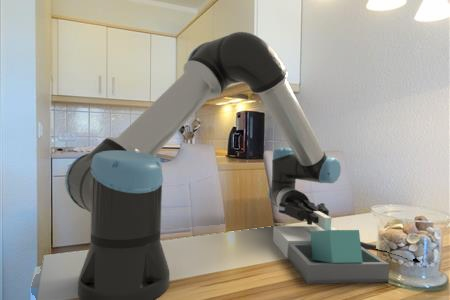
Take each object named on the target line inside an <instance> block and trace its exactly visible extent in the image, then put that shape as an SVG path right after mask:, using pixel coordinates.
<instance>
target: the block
mask: <svg viewBox="0 0 450 300" xmlns="http://www.w3.org/2000/svg"><path fill="white" fill-rule="evenodd" d="M310 232H311V246H312V259H313V260H318V261H324V262H330V263H359V262H363V261H362V252H361V243H360V242H361V236H360V230H359V229H337V230H324V231H310Z"/></svg>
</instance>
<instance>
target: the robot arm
mask: <svg viewBox="0 0 450 300" xmlns="http://www.w3.org/2000/svg"><path fill="white" fill-rule="evenodd" d="M287 77H288V70H287V68H286V67H285V64H284V62H283V61H282V60H281V58H280V57H279V54H277V52H276V51H275V50H274V49H273V48H272V47H271V46H270V45H269V44H268V43H267V42H265V40H263V39H262V38H260V37H258V36H257V35H255V34H252V33H251V32H246V31H237V32H233V33H230V34H229V35H225V36H222V37H219V38H217V39H214V40H211V41H207V42H204V43H202V44H200V45H198V46H197V47H195V48H194V49H193V50H192V51H191V52H190V54H189V56H188V59H187V61H186V63H184V64H183V74H182V75H181V76H179V78H177V80H176V81H175V82H174V83H173V84H171V85H170V86H169V87H168V88H167V89H166V90H165V91H164V92H163V93H162V94H161V95H160V96H159V97H158V98H157V99H156V100H155V101H153V103H152V104H151V105H150V106H149V107H147V109H145V110H144V111H143V113H141V114H140V115H139V116H138V117H137V118H135V120H134V121H133V122H131V124H130V125H129V126H128V127H127V128H126V129H124V131H123V132H121V134H119V136H117V137H106V138H105V139H104V140H103V141H101V142H100V143H98V145H97V146H96V147H95V148H94V149H93V150H92V151H91V152H89V153H84V154H83V155H81V156H78V158H76V159H75V160H74V161H72V163H71V164H70V165H69V167H68V168H67V170H66V173H65V178H64V185H65V189H66V192H67V195H68V196H69V197H70V199H71V201H72V202H73V203H74V204H75V205H77V206H78V207H79V208H81V209H83V210H86V211H88V212H90V244H89V248H88V251H87V253H86V257H85V260H84V263H83V265H82V268H81V271H80V274H79V277H78V281H77V282H78V283H77V294H78V297H79V299H81V300H156V299H157V298H159V297H161V296H162V295H163V294H164V293H165V292H166V291H167V290H168V289H169V286H170V268H169V264H168V261H167V258H166V256H165V255H166V254H165V252H164V248H163V246H162V242H161V228H162V227H161V226H162V225H161V224H162V198H163V197H162V196H163V195H162V194H163V192H162V191H163V183H164V182H163V181H164V177H163V166H162V162H161V160H160V158H158V157H157V156H156V155H157V154H158V153H159V152H160V151H161V150H162V149H163V148H164V147H165V145H166V144H167V143H168V142H169V141H170V140H171V139H172V138H173V137H174V136H175V135H176V133H178V131H179V130H181V129H182V127H183V126H184V125H185V124H186V123H187V122H188V121H189V120H190V119H191V118H192V117H193V116H194V114H195V113H197V111H198V110H199V109H200V108H201V107H202V106H203V105H204V104H205V103H206V101H208V100H210V99H211V100H213V99H214V100H215V99H217V98H218V97H219V96H220V95H221V94H222V93H223V92H224V91H225V90H226V89H227V88H228V87H229V86H230V85H232V84H237V83H245V84H246V85H247V86H249V88H250V90H251V92H252V93H253V94H255V95H258V96H259V97H260V99H261V100H262V103H263V104H264V106H265V107H266V109H267V111H268V112H269V114H270V115H271V117H272V119H273V121H274V123H275V124H276V126H277V127H278V129H279V130H280V132H281V134H282V136H283V138H284V140H285V141H286V143H287V144H288V146H289V147H276V148H274V149H273V152H272V167H271V168H272V170H271V171H272V172H271V186H270V187H269V189H268V193H267V194H268V198H269V201H270V202H271V203H272V204H273V205H274V206H275V207H277V208H278V213H280V214H283V215H286V216H289V217H290V218H293V219H295V220H297V221H300V222H304V221H306V224H307V226H312V225H313V224H314V225H316V226H319V227H321V228H322V229H324V230H331V226H332V217H331V216H330V215H329V212H330V211H329V210H328V208H327V207H326V204H325V203H324V202H321V203H317V205H316V204H315V203H314V202H311V201H310V199H309V198H308V196H307V195H306V194H305V193H304V192H302V191H299V190H298V189H296V180H299V181H300V180H301V181H306V182H307V181H308V182H314V183H319V184H334V183H335V182H337V181H338V180H339V177H340V175H341V171H342V168H341V163H340V161H339V160H338V159H337V158H336V157H333V156H327V155H326V152H325V151H324V149H323V147H322V145H321V144H320V141H319V139H318V138H317V136H316V133H315V132H314V130H313V128H312V126H311V124H310V122H309V121H308V118H307V116H306V114H305V112H304V111H303V109H302V107H301V105H300V102H299V101H298V99H297V97H296V95H295V93H294V91H293V89H292V88H291V86H290V83H289V82H288V80H287Z"/></svg>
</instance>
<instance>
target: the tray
mask: <svg viewBox="0 0 450 300" xmlns="http://www.w3.org/2000/svg"><path fill="white" fill-rule="evenodd" d="M361 252H362V261H363V262H359V263H330V262H324V261H318V260H313V259H312V246H311V244H288V259H287V260H288V262H289V263H290V264H291V265H292V266H293V267H294V269H295V271H297V272H298V274H299V275H300V276H301V277H302V278H303V280H304V281H305V282H306V283H307V284H308V285H310V284H314V285H315V284H352V283H353V284H355V283H356V284H357V283H358V284H359V283H360V284H361V283H362V284H363V283H389V279H390V277H389V276H390V263H389V262H387V261H385V260H383V258H380V257H379V256H378V255H376V254H374V253H373V252H371V251H369V249H365V248H363V247H361Z"/></svg>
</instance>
